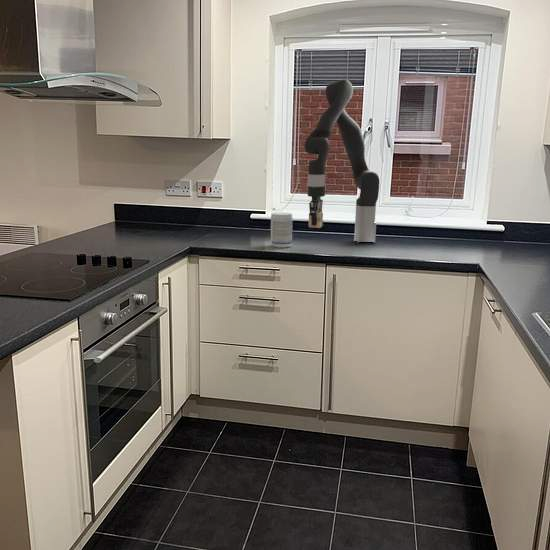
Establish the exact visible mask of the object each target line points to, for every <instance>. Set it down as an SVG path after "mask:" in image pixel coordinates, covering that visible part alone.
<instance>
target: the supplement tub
mask: <svg viewBox="0 0 550 550" xmlns="http://www.w3.org/2000/svg"><path fill="white" fill-rule="evenodd" d="M292 245H293V213H291V212H272V213H271V215H270V246H271V247H273V248H279V249H280V248H281V249H282V248H283V249H284V248H285V249H286V248H290V247H292Z"/></svg>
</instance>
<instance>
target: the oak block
mask: <svg viewBox="0 0 550 550" xmlns="http://www.w3.org/2000/svg"><path fill="white" fill-rule="evenodd" d="M313 213H314V212H313ZM311 221H312V217H311V216H310V212H309V213H308V228H317V229H320V228H322V227H324V212H323V211H322V212H317V225H316V226H312V225H311Z"/></svg>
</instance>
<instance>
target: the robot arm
mask: <svg viewBox="0 0 550 550" xmlns="http://www.w3.org/2000/svg"><path fill="white" fill-rule="evenodd" d="M353 94H354V87H353V85H352V83H351V82H350V80H348V79H340V80H337V81H334V82H331V83H329V84H327V85H326V87H325V96H326V99H327V103H328V105H329V107H327V109H326V110H325V111H324V112H323V113H322V114H321V117H320V118H319V119H318V122H317V124H316V127H315V128H314V129H313V130H312V131H311V133H310V134H309V135H308V136H307V138H306V139H305V142H304V151H305V153H307V154H308V155H318V156H317V158H316V159H313V160H312V159H311V160H310V161H308V175H307V196H308V197H310V198H311V200H310V201H309V203H308V207H309V213H310V216H311V217H312V221H311V225H312V226H316V225H317V212H322V213H323V202H324V200H323V199H321V198H322V197H325V195H326V161H327V159H328V155H329V151H330V148H331V147H330V146H331V145H330V141H329V138H330V137H331V135H332V132H333V129H334V128H335V125H337V127H338V130H339V133H340V136H341V140H342V143H343V147H344V148H345V151H346V155H347V157H348V160H349V163H350V165H351V167H350V168H351V171H352V174H353V179H354V184H355V186H356V187H357V188H358V189H359V190H360V191H359V192H360V193H359V196H358V198H357V199H356V202H355V203H356V204H355V216H354V221H355V222H354V236H353V241H354V242H355V241H357V242H356V243H359V242H373V243H376V235H377V234H376V233H377V232H376V231H377V222H376V209H377V201H378V199H379V192H380V177H379V175H378V174H377V172H375V171H372V170H371V171H370V170H369V167H368V165H367V162H366V158H365V156H366V155H365V147H366V146H365V139H364V135H363V133H362V129H361V127H360V125H359V124H358V123H357V122H356V121H355V120H354V119H353V118H352V117H351V116H350V115H348V112H346V110H345V108H346V106H347V105H348V103H349V102H350V101H351V99H352V97H353ZM313 212H314V213H313Z"/></svg>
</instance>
